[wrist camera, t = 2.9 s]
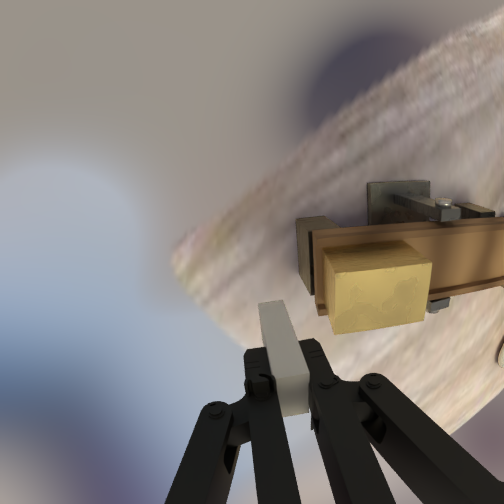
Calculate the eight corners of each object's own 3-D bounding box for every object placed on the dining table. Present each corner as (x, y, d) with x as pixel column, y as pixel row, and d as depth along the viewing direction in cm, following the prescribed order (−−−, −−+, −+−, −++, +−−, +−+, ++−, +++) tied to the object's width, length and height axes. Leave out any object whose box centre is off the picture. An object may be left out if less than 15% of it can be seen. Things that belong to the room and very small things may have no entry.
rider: (403, 240, 22) (432, 262, 17) (399, 290, 23) (423, 320, 18) (321, 247, 22) (335, 273, 18) (323, 300, 24) (334, 334, 19)
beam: (516, 216, 21) (530, 221, 19) (508, 272, 24) (520, 280, 21) (312, 230, 23) (316, 238, 21) (314, 302, 26) (318, 316, 23)
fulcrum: (470, 179, 29) (521, 192, 20) (463, 267, 33) (506, 295, 24) (293, 189, 28) (320, 204, 19) (300, 299, 32) (323, 348, 23)
